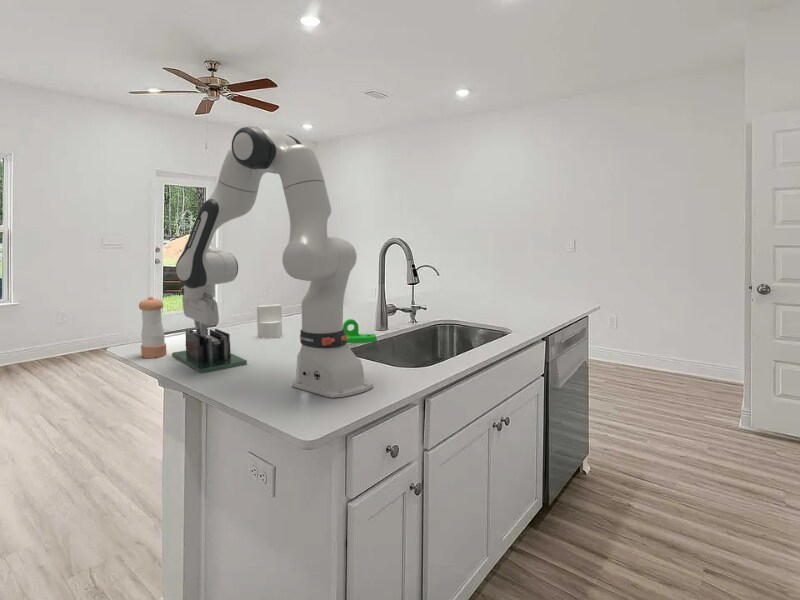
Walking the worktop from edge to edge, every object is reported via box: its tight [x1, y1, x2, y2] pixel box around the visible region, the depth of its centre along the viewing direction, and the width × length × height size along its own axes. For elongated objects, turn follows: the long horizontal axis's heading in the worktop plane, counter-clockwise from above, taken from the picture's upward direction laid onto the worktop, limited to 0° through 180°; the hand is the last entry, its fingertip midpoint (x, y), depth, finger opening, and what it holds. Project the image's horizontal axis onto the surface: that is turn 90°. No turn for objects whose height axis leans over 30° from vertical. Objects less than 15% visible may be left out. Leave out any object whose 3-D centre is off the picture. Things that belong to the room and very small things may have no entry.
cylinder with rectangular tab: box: [256, 303, 283, 339], centre depth 187 cm, size 9×9×12 cm
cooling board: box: [171, 328, 248, 374], centre depth 153 cm, size 24×14×9 cm, turn 43°
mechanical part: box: [343, 318, 377, 344], centre depth 182 cm, size 12×6×8 cm, turn 104°
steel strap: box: [193, 330, 223, 346], centre depth 153 cm, size 18×3×1 cm, turn 43°
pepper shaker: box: [138, 296, 168, 359], centre depth 157 cm, size 7×7×19 cm
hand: (201, 334), depth 155 cm, fingers closed on steel strap
